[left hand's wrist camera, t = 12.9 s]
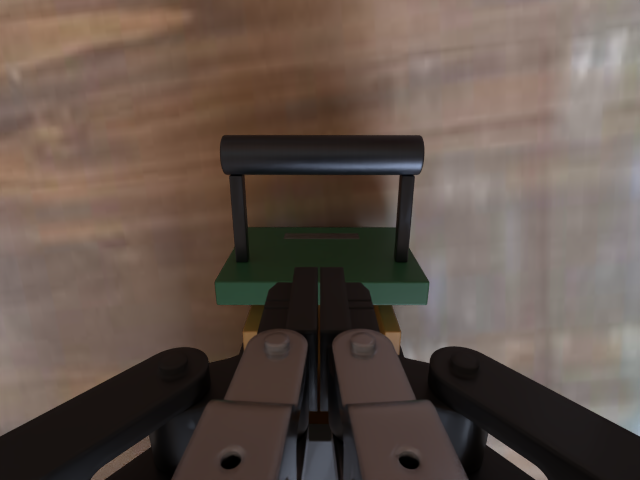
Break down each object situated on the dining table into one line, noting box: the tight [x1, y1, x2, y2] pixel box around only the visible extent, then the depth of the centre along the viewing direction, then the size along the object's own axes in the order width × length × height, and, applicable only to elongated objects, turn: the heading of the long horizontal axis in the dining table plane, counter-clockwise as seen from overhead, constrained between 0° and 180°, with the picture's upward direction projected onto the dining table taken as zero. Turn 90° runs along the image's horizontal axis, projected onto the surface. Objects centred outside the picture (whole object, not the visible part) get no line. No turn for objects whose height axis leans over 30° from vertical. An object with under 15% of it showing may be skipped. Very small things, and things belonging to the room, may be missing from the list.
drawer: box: [215, 135, 429, 424], centre depth 23 cm, size 26×10×8 cm, turn 0°
